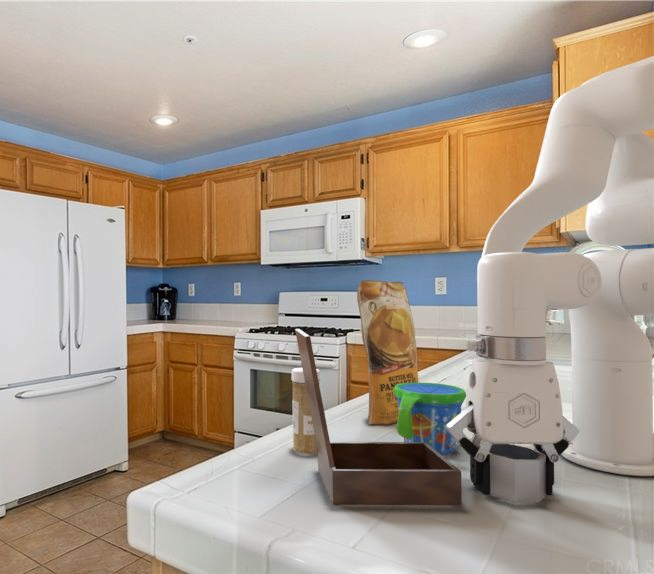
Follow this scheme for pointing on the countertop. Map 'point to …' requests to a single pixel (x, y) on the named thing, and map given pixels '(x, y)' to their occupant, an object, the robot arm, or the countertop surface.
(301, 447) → the sprinkles bottle
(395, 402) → the pancake mix bag
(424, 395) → the snack cup
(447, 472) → the chest
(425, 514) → the countertop surface
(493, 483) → the steel cup
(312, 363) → the lid
